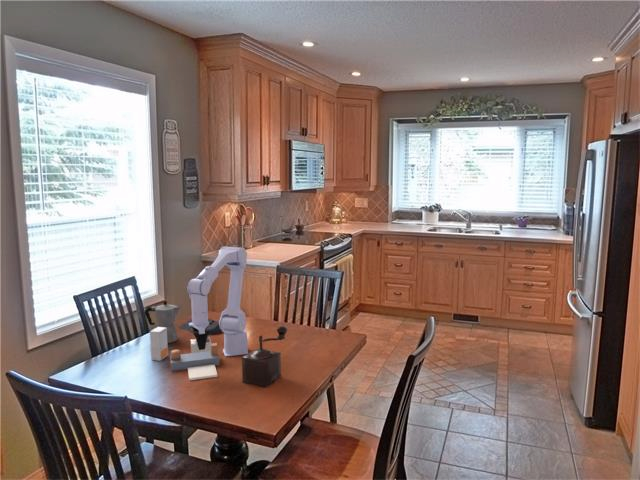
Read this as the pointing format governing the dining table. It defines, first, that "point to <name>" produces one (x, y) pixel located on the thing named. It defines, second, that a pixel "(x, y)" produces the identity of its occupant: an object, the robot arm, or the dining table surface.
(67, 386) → the dining table surface
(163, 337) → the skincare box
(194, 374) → the tile
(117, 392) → the dining table surface
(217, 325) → the dark slate chunk
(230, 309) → the robot arm
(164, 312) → the coffeepot
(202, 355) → the plane body
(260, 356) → the manual coffee grinder
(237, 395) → the dining table surface
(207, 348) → the lever cap
